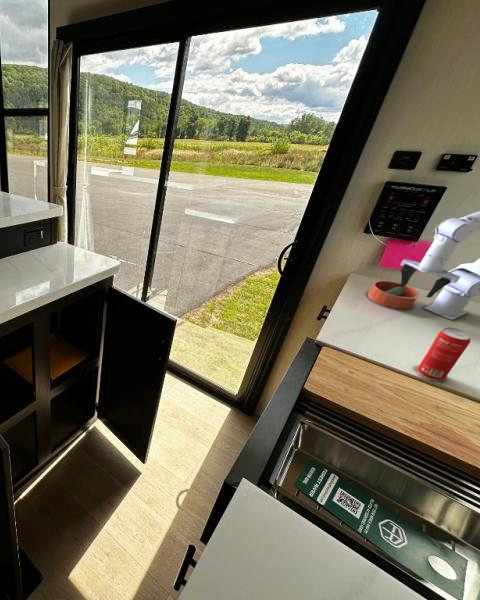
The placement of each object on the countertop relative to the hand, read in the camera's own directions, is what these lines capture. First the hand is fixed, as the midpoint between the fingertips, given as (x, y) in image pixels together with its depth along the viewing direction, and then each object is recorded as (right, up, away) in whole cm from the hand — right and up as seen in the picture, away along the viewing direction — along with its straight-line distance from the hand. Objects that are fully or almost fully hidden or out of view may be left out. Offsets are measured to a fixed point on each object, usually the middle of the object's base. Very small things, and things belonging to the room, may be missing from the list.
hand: (415, 291), depth 111 cm
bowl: (+3, -3, +12) cm, 13 cm away
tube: (+3, -3, +12) cm, 13 cm away
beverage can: (-17, -25, -19) cm, 36 cm away
